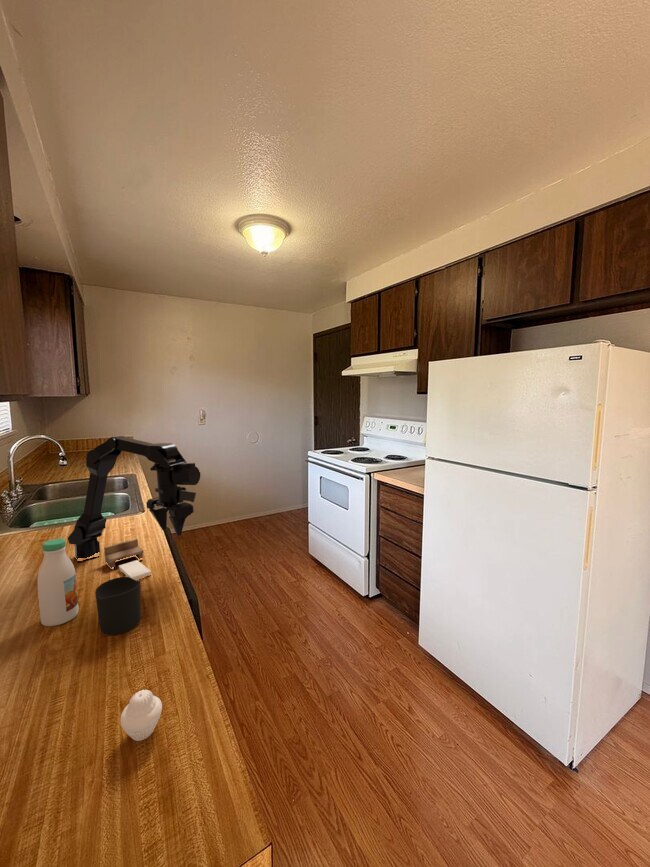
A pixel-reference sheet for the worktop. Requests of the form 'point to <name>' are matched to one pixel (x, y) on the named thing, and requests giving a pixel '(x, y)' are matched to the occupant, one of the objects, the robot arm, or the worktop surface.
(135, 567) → the tile
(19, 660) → the worktop surface
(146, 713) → the white rounded lump
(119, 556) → the l-shaped bracket
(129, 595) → the pen holder
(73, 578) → the milk bottle
